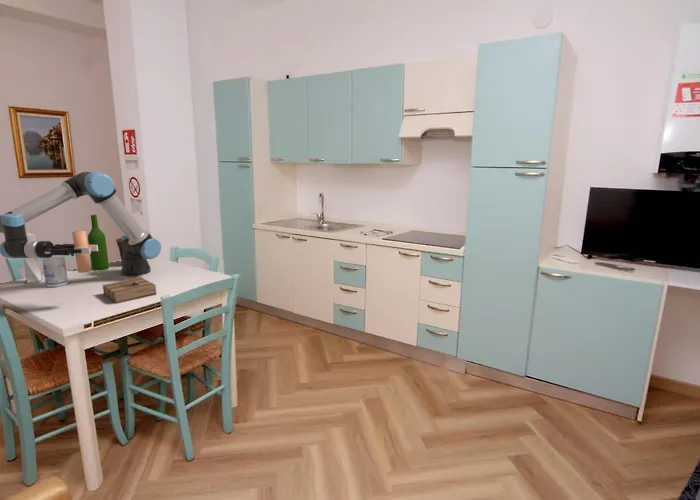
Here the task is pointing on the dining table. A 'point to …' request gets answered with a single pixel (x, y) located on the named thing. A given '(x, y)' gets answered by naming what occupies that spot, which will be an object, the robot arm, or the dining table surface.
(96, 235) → the wine bottle
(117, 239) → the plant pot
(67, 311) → the dining table surface
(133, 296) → the socket block
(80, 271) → the peg
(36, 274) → the skyscraper
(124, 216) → the robot arm
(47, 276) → the supplement tub
